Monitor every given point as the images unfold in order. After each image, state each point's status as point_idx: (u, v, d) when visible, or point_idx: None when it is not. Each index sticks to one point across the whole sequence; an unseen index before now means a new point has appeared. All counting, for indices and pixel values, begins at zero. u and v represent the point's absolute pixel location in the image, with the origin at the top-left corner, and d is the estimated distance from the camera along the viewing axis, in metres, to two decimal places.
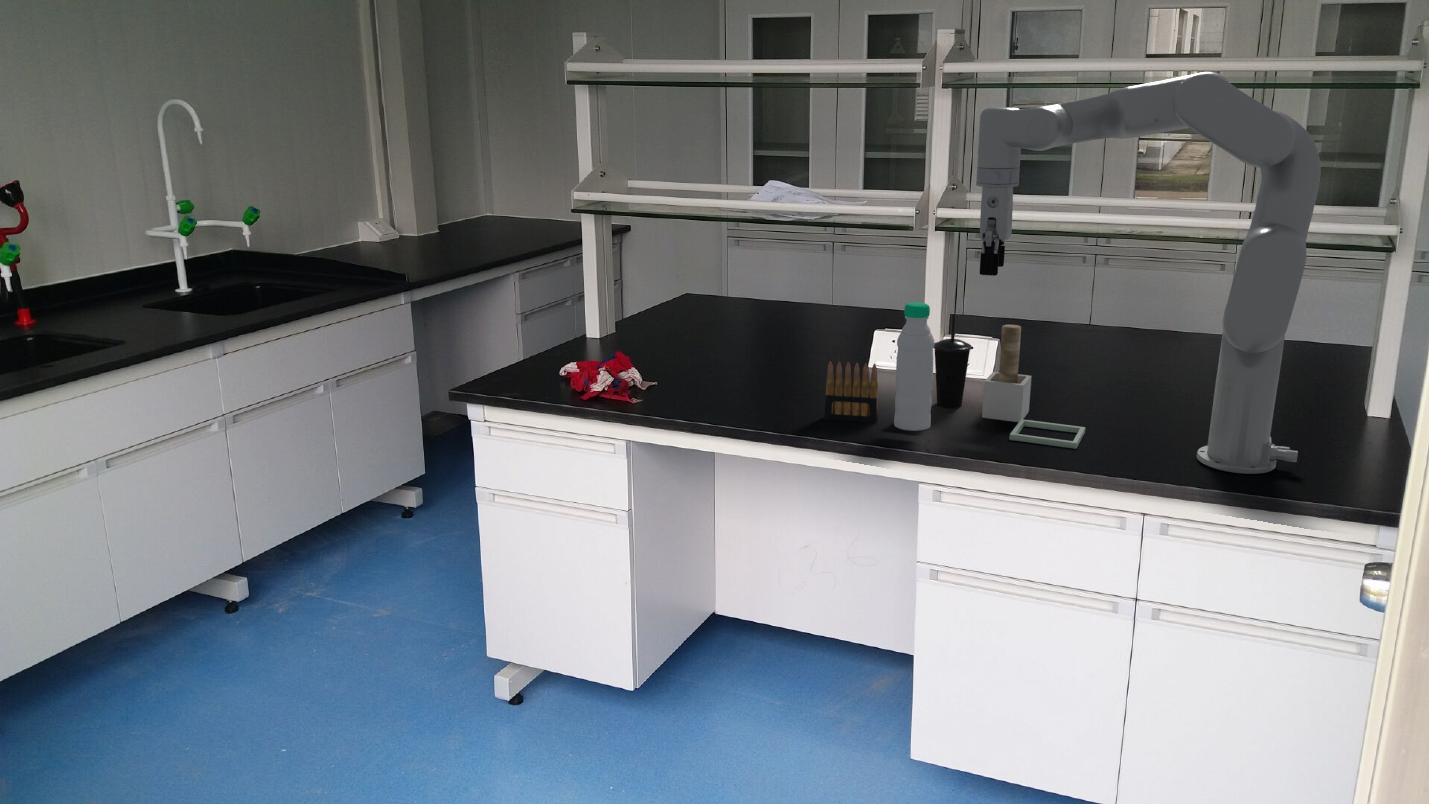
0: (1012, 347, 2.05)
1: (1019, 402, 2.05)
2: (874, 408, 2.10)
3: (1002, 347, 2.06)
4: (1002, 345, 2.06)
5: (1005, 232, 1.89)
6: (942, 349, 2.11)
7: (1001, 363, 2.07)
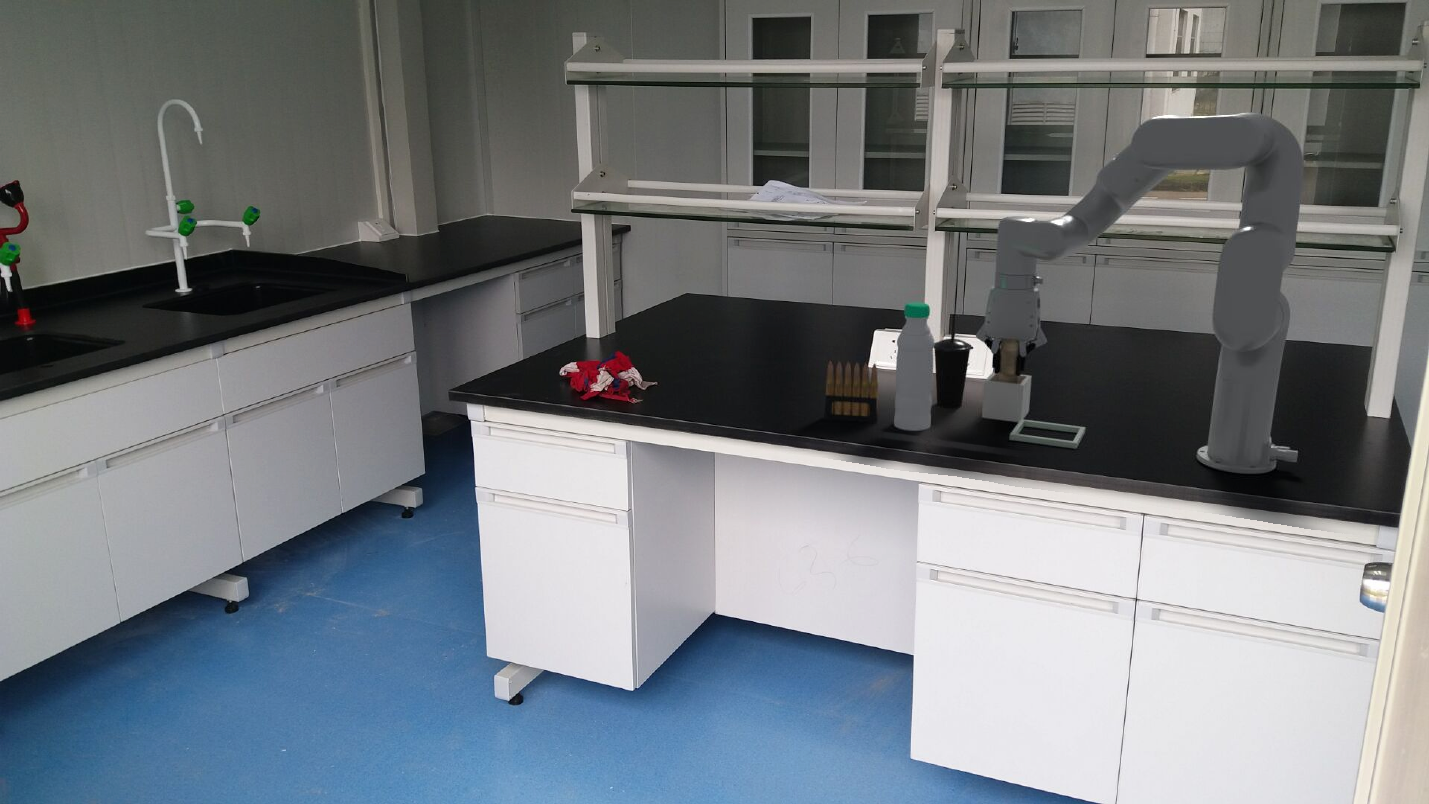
0: (1012, 347, 2.05)
1: (1019, 402, 2.05)
2: (874, 409, 2.10)
3: (1002, 347, 2.06)
4: (1002, 345, 2.06)
5: None
6: (942, 349, 2.11)
7: (1001, 363, 2.07)
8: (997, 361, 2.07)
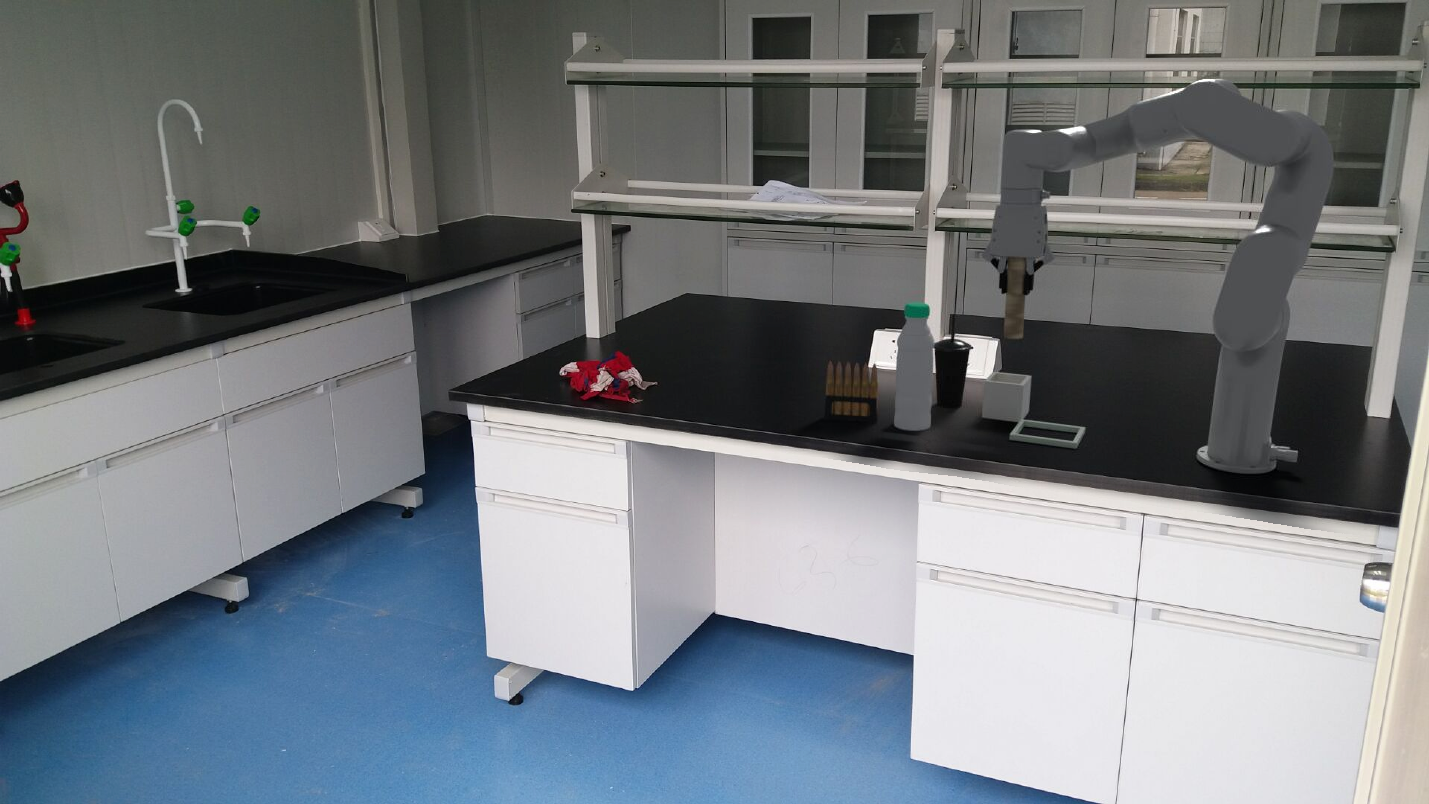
0: (1019, 265, 2.00)
1: (1019, 402, 2.05)
2: (874, 408, 2.10)
3: (1009, 266, 2.01)
4: (1009, 264, 2.01)
5: None
6: (942, 349, 2.11)
7: (1008, 283, 2.02)
8: (1004, 281, 2.02)
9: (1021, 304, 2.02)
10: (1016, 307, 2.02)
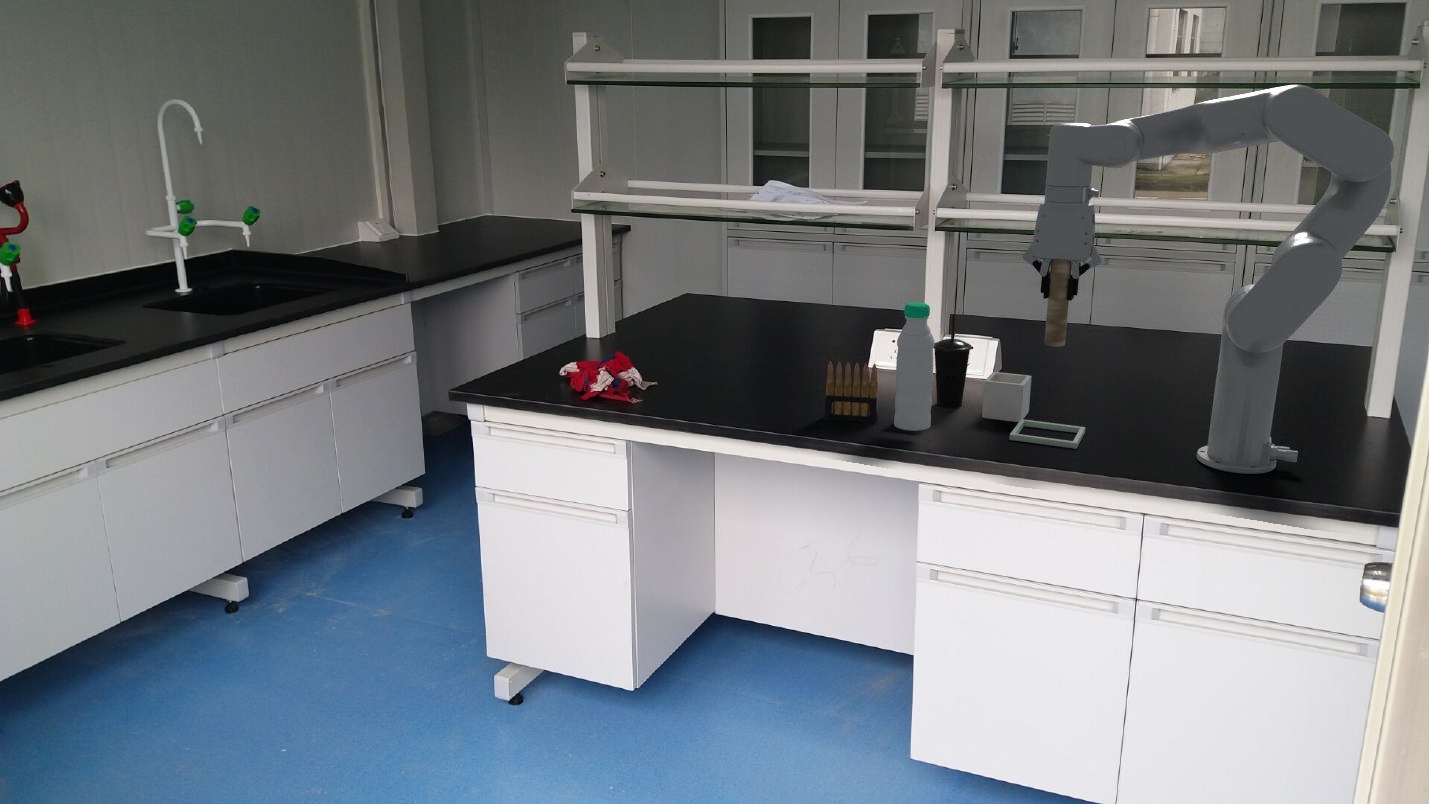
0: (1063, 268, 1.87)
1: (1019, 402, 2.05)
2: (874, 408, 2.10)
3: (1052, 269, 1.88)
4: (1052, 266, 1.88)
5: None
6: (942, 349, 2.11)
7: (1051, 287, 1.89)
8: (1046, 284, 1.89)
9: (1064, 310, 1.89)
10: (1059, 312, 1.89)
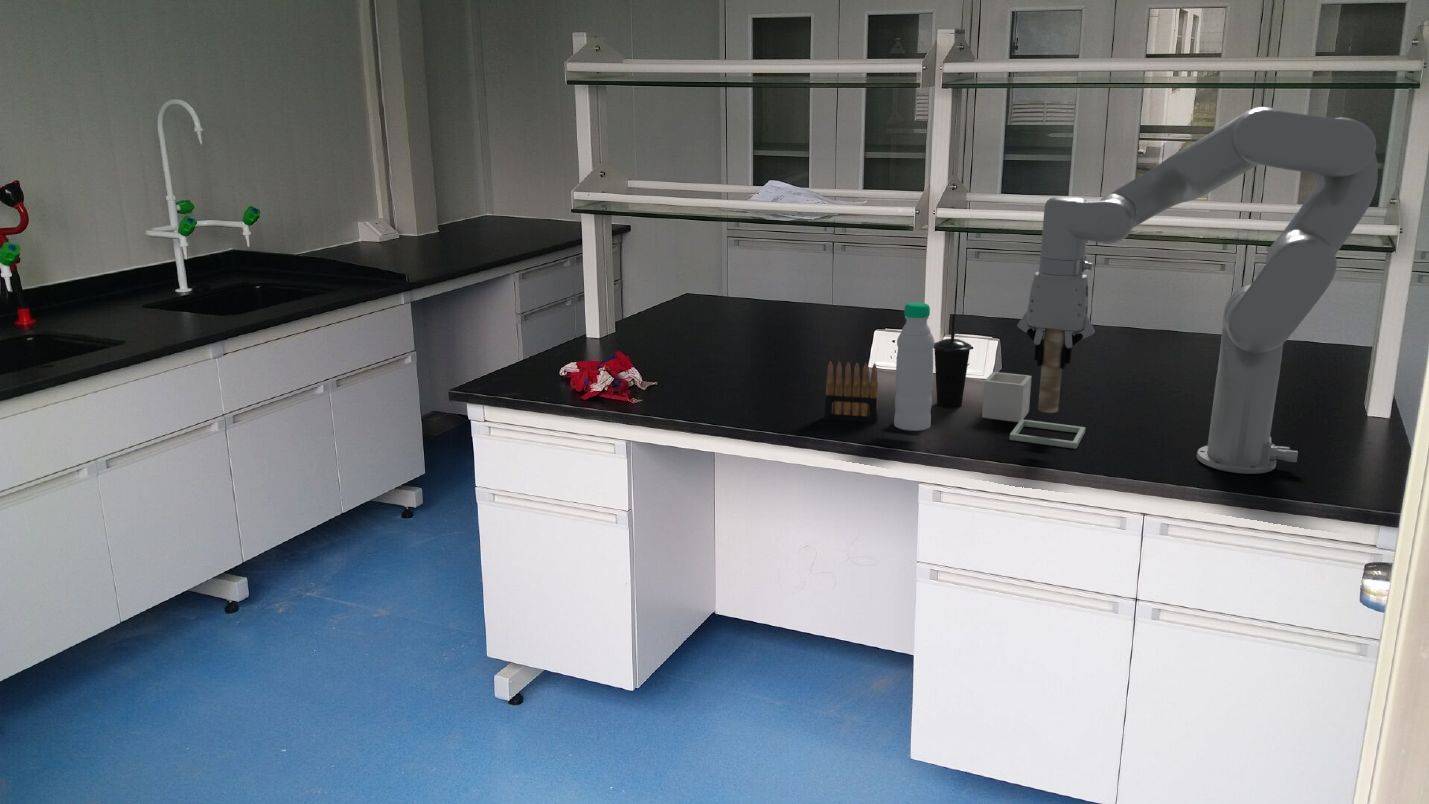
0: (1057, 338, 1.91)
1: (1019, 402, 2.05)
2: (874, 408, 2.10)
3: (1046, 337, 1.92)
4: (1046, 335, 1.92)
5: None
6: (942, 349, 2.11)
7: (1044, 355, 1.93)
8: (1040, 353, 1.93)
9: (1058, 378, 1.93)
10: (1052, 380, 1.93)
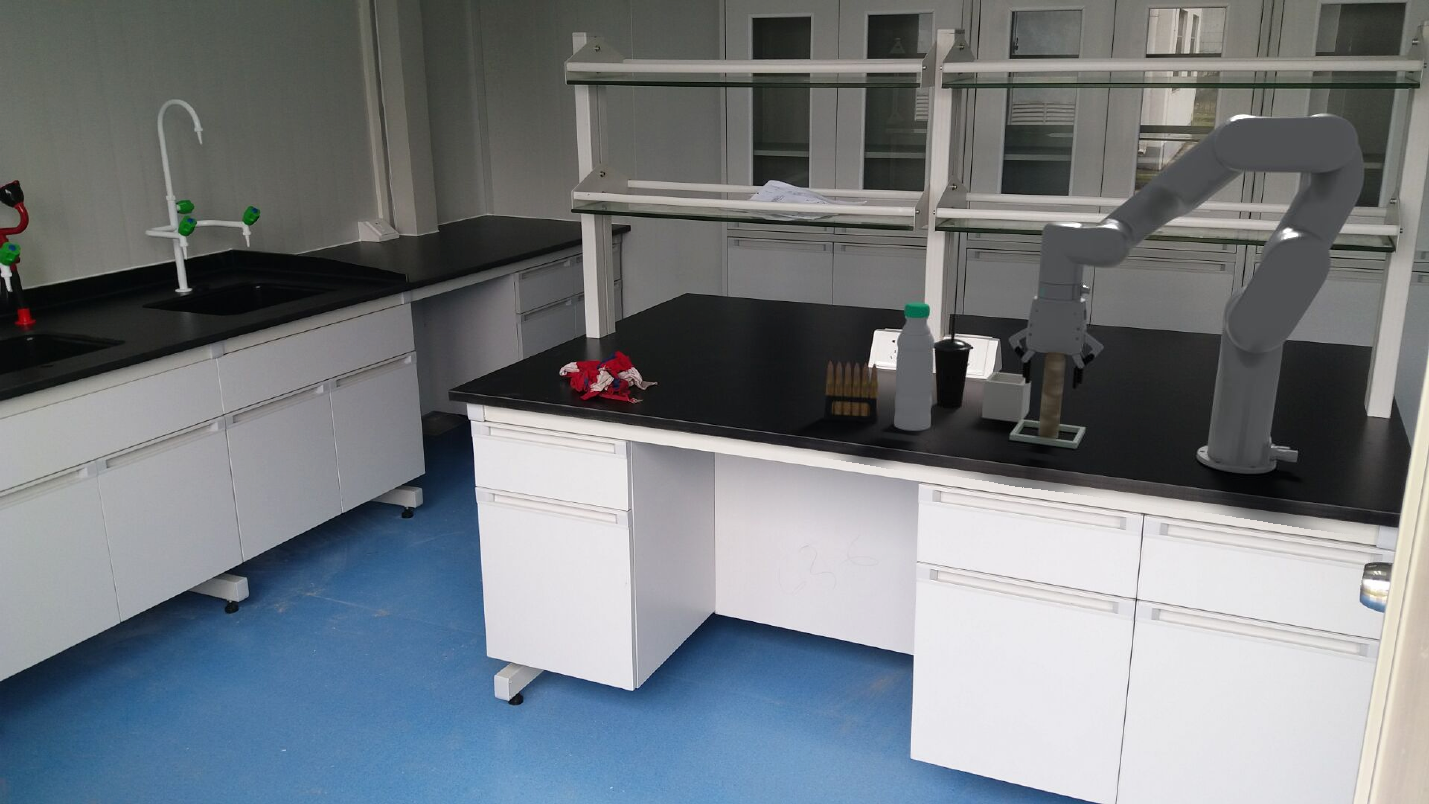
0: (1057, 366, 1.92)
1: (1019, 402, 2.05)
2: (874, 408, 2.10)
3: (1046, 366, 1.93)
4: (1046, 364, 1.93)
5: None
6: (942, 349, 2.11)
7: (1045, 383, 1.94)
8: (1028, 370, 1.95)
9: (1058, 405, 1.94)
10: (1052, 408, 1.94)
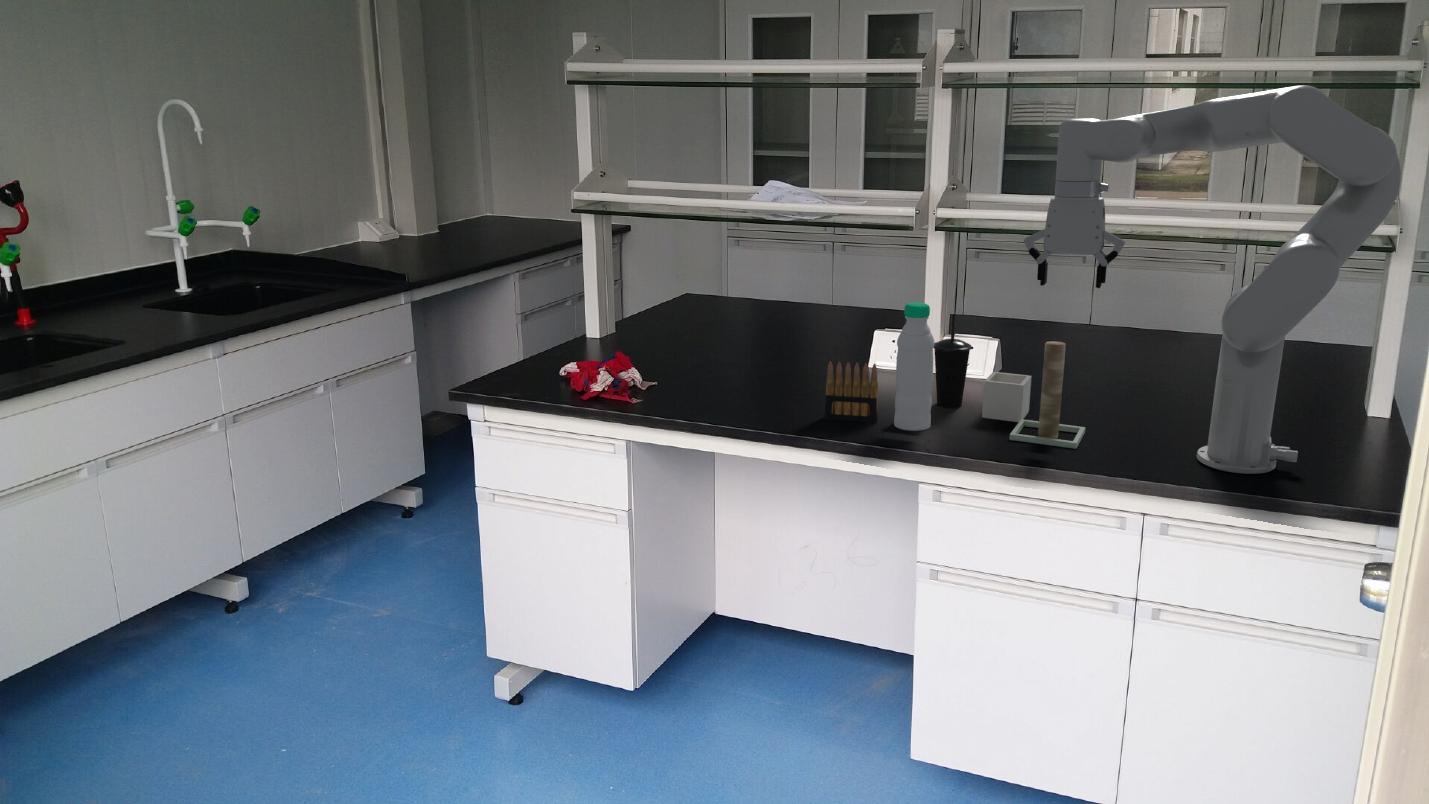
0: (1056, 365, 1.92)
1: (1019, 402, 2.05)
2: (874, 408, 2.10)
3: (1045, 365, 1.93)
4: (1045, 363, 1.93)
5: None
6: (942, 349, 2.11)
7: (1044, 382, 1.94)
8: (1043, 271, 1.91)
9: (1057, 405, 1.94)
10: (1052, 407, 1.94)
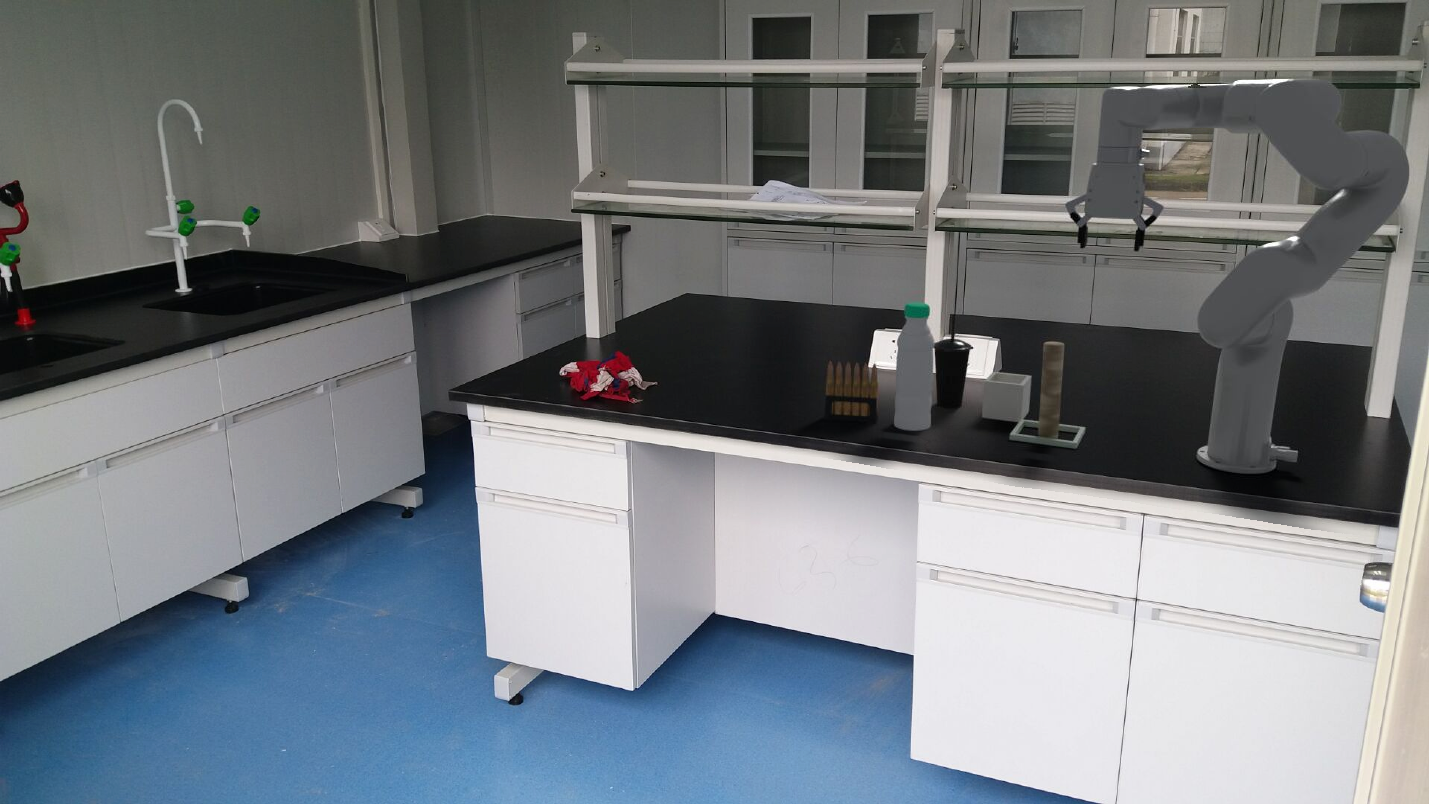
0: (1055, 366, 1.92)
1: (1019, 402, 2.05)
2: (874, 409, 2.10)
3: (1044, 366, 1.93)
4: (1044, 364, 1.93)
5: None
6: (942, 349, 2.11)
7: (1043, 383, 1.94)
8: (1083, 235, 1.99)
9: (1057, 405, 1.94)
10: (1051, 407, 1.94)
